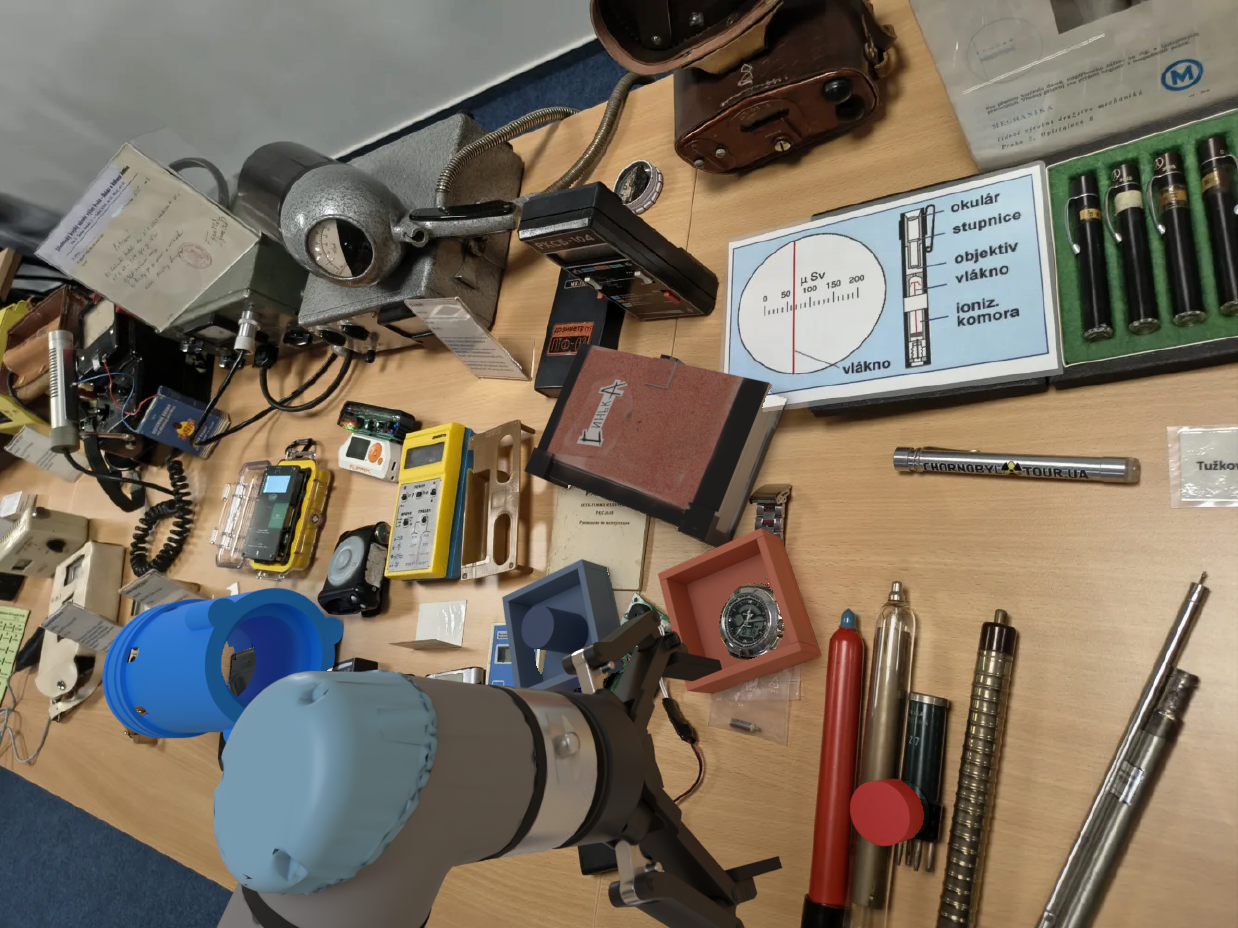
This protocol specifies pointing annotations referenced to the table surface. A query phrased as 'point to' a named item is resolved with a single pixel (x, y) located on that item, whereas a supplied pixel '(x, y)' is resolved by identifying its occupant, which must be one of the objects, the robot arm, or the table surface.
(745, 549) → the red bin
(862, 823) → the red canister
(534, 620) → the blue canister
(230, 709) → the blue pipe coupling
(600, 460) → the book
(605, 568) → the blue bin
